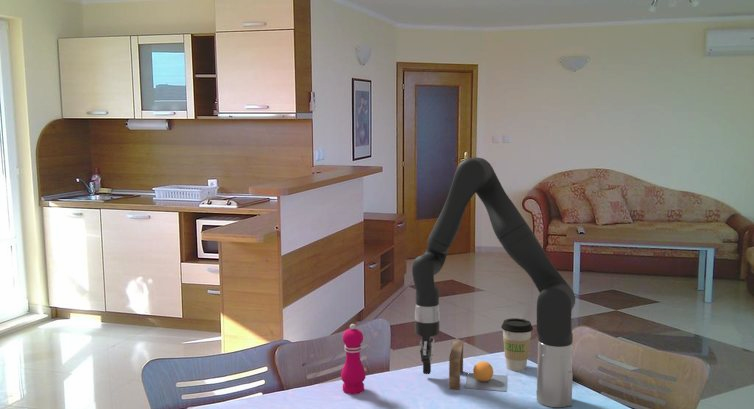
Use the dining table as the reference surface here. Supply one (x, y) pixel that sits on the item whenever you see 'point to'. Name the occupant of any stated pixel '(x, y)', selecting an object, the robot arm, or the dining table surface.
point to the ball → (483, 371)
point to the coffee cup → (516, 342)
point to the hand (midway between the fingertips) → (426, 373)
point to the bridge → (455, 365)
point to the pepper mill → (353, 362)
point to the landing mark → (486, 383)
